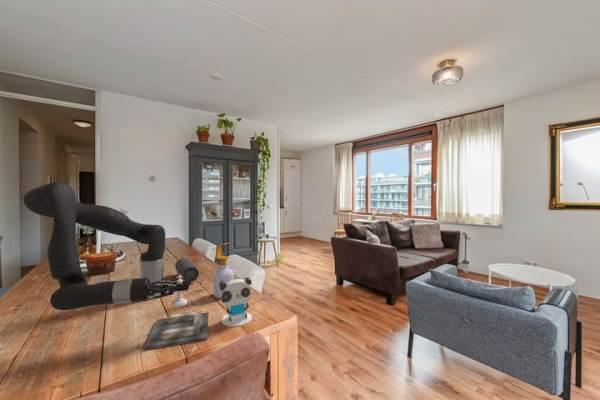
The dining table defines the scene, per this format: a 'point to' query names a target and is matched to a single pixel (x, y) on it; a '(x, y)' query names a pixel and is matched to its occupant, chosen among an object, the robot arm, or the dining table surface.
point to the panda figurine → (236, 301)
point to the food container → (100, 263)
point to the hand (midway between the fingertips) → (188, 285)
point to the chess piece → (179, 295)
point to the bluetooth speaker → (187, 269)
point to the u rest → (178, 330)
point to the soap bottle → (221, 272)
